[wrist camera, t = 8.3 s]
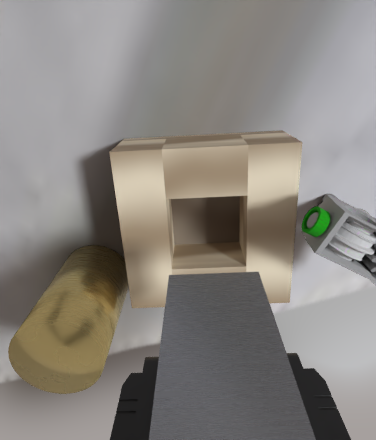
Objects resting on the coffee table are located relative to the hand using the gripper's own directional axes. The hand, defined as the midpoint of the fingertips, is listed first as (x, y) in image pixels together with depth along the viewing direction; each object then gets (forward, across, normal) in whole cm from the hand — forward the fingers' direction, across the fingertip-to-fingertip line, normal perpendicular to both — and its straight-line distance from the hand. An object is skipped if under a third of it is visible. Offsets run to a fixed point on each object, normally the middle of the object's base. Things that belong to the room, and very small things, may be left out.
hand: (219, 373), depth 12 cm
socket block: (+17, 0, 0) cm, 17 cm away
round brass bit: (+17, +10, +6) cm, 21 cm away
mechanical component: (+17, -10, 0) cm, 20 cm away
